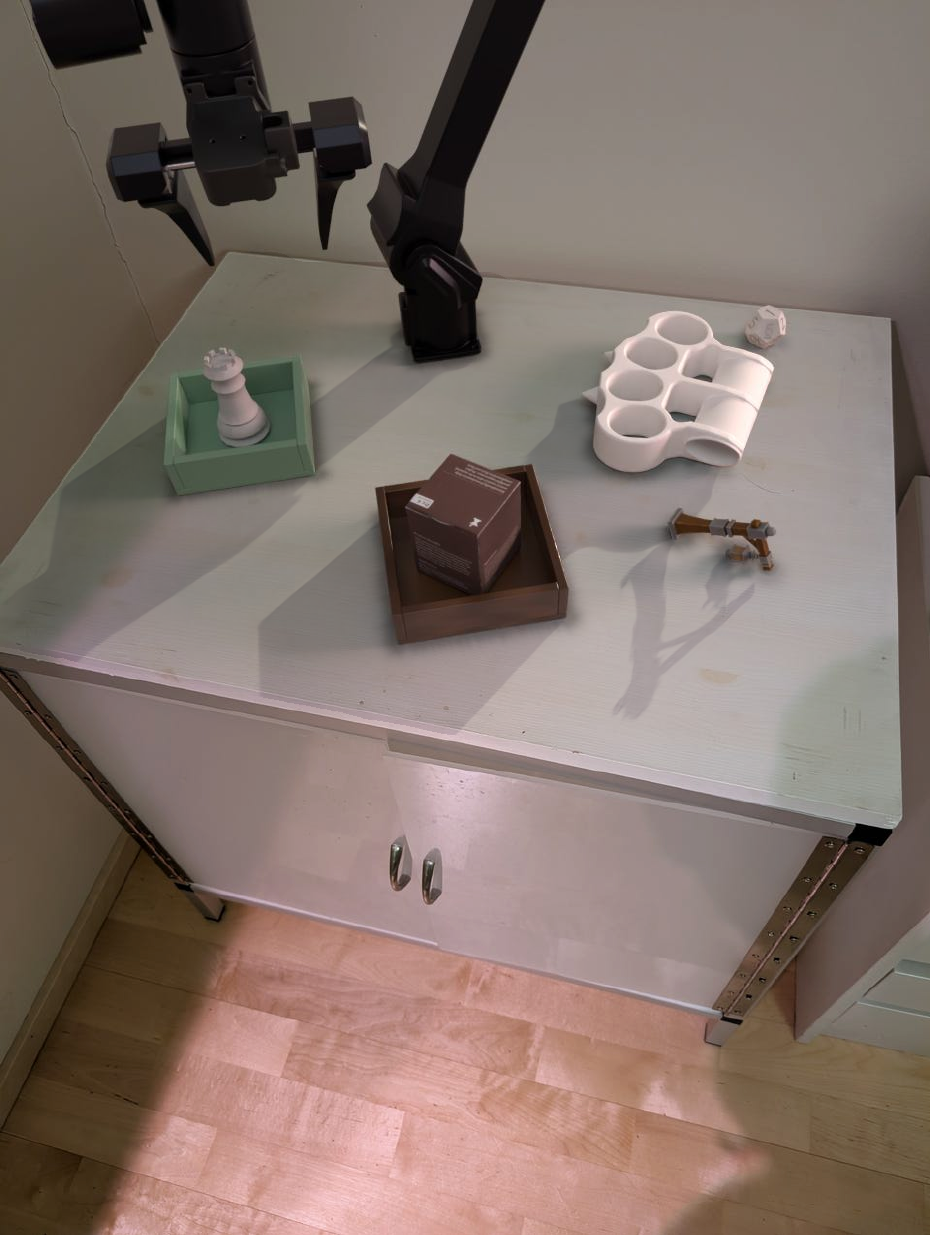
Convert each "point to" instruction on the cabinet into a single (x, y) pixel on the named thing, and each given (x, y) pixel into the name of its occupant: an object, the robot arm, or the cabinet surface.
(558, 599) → the walnut tray
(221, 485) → the green bin
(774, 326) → the game die
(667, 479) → the cabinet surface
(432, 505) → the box
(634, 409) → the white brass knuckles
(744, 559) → the wooden post with brackets
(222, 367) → the rook chess piece
